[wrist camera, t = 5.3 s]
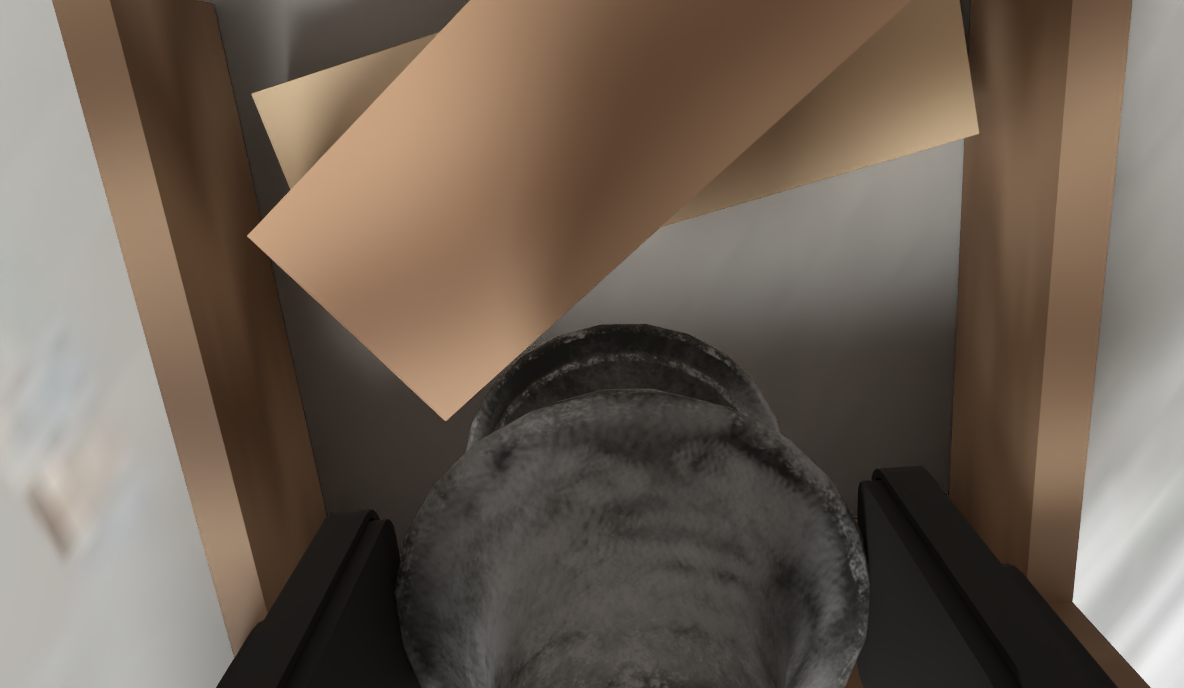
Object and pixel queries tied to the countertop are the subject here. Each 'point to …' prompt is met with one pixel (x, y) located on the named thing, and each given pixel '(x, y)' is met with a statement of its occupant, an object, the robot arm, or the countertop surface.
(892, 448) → the countertop surface
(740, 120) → the upper offcut
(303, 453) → the rack
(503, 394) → the grey stone finial
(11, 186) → the countertop surface
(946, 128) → the lower offcut
